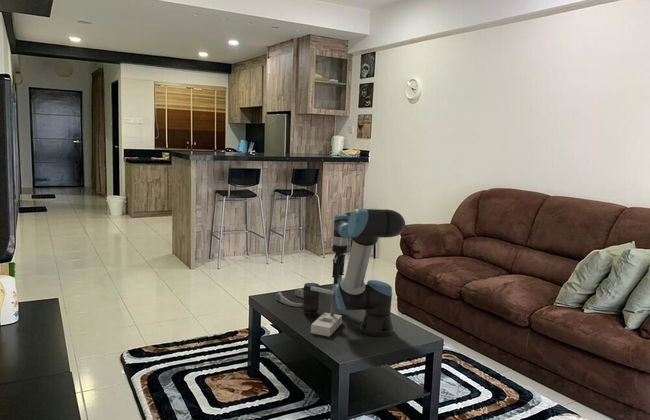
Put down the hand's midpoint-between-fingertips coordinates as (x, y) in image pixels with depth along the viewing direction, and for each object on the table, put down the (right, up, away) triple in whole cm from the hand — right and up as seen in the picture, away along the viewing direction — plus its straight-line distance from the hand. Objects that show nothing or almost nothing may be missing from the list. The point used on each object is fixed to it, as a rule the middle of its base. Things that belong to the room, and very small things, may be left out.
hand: (337, 288), depth 258 cm
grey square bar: (-7, +1, -17) cm, 19 cm away
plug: (0, -4, +1) cm, 4 cm away
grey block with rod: (-6, -15, -24) cm, 29 cm away
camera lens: (-14, -12, -6) cm, 19 cm away
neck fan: (-21, -9, +12) cm, 26 cm away
